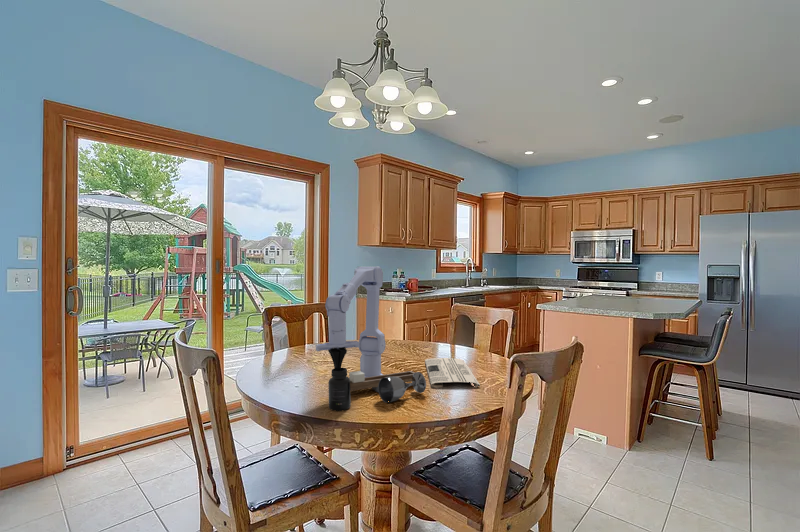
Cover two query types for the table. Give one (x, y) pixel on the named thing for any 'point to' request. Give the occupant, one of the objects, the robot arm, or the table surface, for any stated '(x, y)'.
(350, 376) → the block
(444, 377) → the newspaper
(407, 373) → the beam
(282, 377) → the table surface
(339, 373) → the supplement bottle
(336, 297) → the robot arm
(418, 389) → the wine glass
